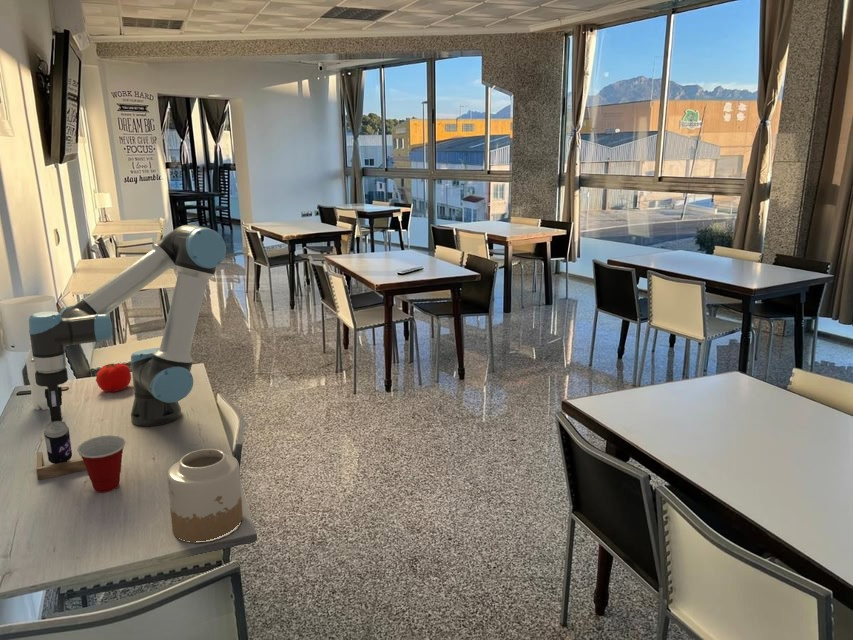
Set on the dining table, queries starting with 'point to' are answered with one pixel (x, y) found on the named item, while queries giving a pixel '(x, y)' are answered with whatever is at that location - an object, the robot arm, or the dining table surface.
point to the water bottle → (35, 385)
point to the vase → (204, 495)
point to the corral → (57, 467)
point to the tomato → (113, 377)
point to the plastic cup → (103, 461)
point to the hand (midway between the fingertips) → (60, 448)
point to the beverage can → (58, 442)
